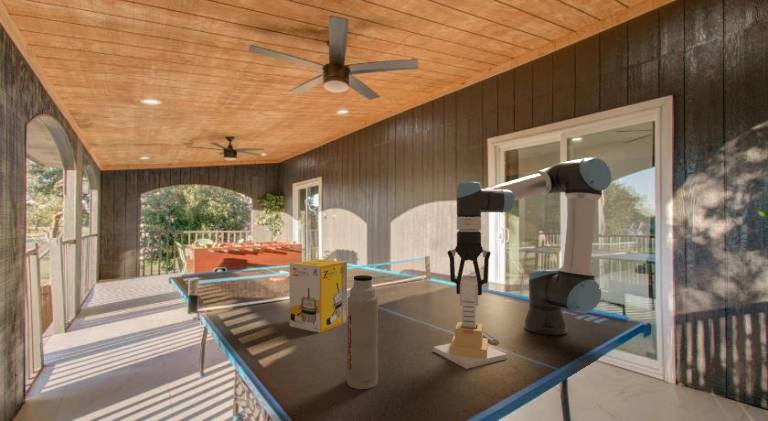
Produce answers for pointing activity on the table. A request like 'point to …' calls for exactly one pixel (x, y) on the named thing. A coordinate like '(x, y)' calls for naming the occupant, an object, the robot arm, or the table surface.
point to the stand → (469, 348)
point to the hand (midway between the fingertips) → (469, 304)
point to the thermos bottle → (362, 334)
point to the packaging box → (318, 294)
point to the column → (468, 302)
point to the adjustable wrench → (490, 338)
